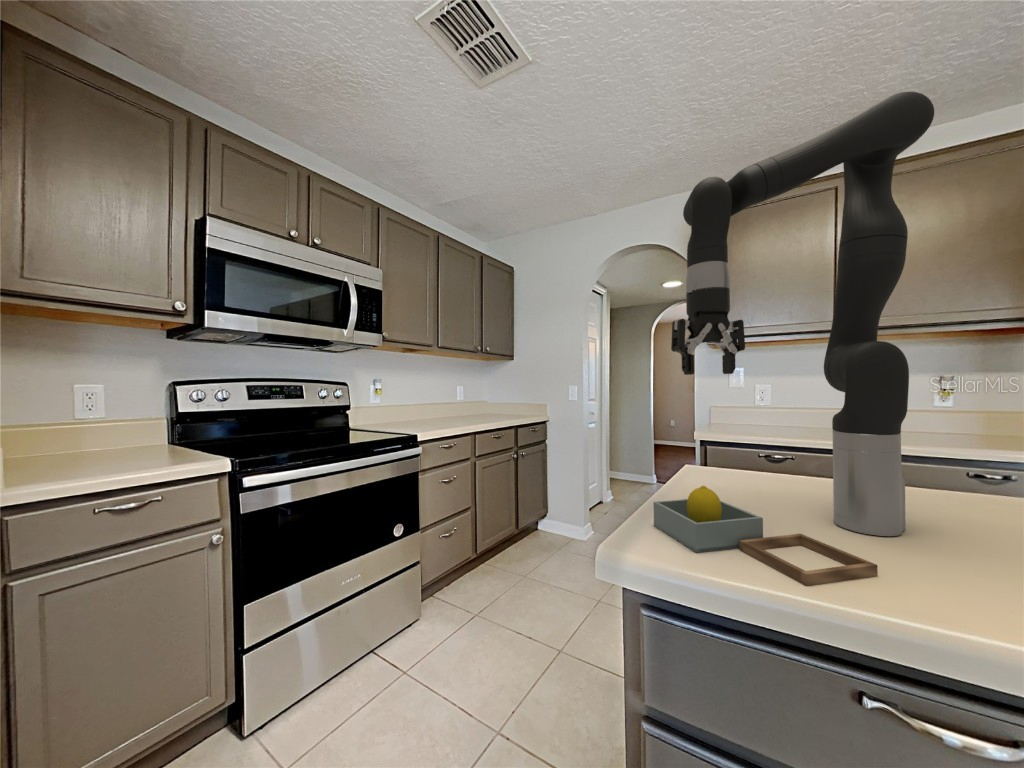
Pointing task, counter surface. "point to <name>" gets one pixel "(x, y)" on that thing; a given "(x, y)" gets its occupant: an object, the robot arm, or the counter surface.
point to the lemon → (704, 505)
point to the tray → (820, 576)
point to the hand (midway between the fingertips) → (708, 374)
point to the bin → (707, 526)
